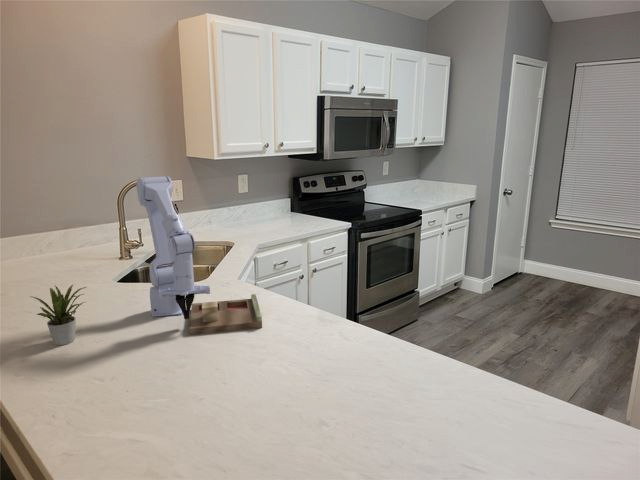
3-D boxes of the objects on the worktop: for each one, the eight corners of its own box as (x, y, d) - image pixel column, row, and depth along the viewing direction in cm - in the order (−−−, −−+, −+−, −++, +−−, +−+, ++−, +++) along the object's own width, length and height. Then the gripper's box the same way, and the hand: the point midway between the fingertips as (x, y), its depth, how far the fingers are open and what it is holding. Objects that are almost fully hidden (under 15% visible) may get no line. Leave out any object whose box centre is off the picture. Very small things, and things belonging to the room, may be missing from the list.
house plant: (108, 334, 133) (101, 281, 129) (68, 356, 120) (60, 297, 116) (70, 327, 137) (63, 276, 133) (28, 347, 124) (19, 291, 121)
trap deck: (189, 335, 132) (188, 323, 131) (192, 309, 151) (191, 299, 150) (262, 327, 137) (261, 317, 136) (255, 303, 156) (255, 294, 155)
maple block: (202, 322, 136) (201, 308, 135) (203, 316, 140) (202, 302, 139) (218, 320, 137) (217, 306, 136) (218, 315, 141) (217, 301, 140)
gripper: (156, 280, 128) (160, 325, 131) (208, 276, 131) (211, 320, 135) (158, 273, 135) (162, 315, 138) (208, 269, 138) (211, 311, 141)
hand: (186, 317), depth 137 cm, fingers closed
